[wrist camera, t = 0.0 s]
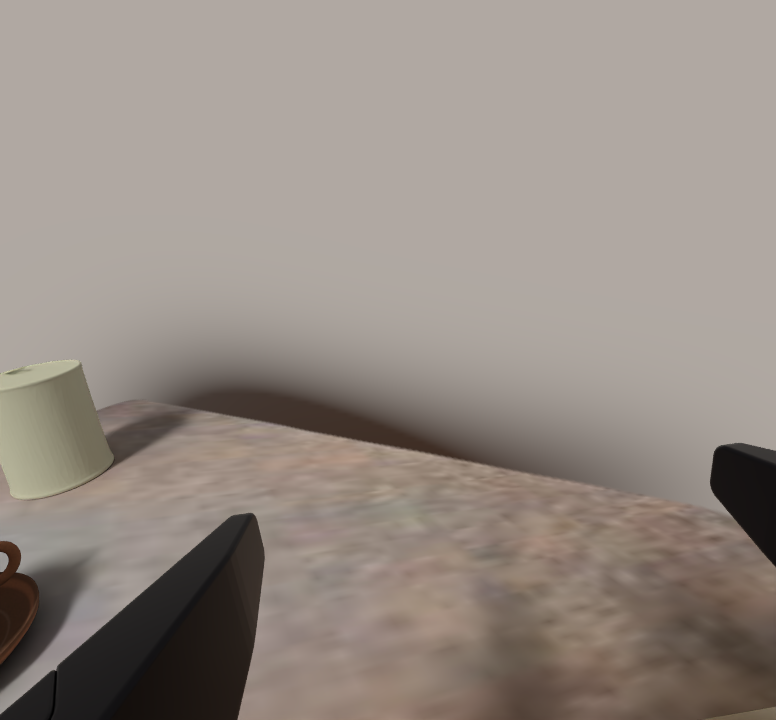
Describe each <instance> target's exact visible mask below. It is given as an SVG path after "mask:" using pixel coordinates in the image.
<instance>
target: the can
mask: <svg viewBox="0 0 776 720" xmlns="http://www.w3.org/2000/svg"><path fill="white" fill-rule="evenodd" d="M113 461H114V455H113V453H112V452H111V450H110V448H109V446H108V443H107V441H106V438H105V435H104V432H103V429H102V427H101V424H100V421H99V418H98V415H97V412H96V409H95V406H94V403H93V400H92V397H91V395H90V391H89V388H88V385H87V382H86V379H85V376H84V373H83V370H82V364H81V362H80V361H77V360H61V361H52V362H46V363H40V364H36V365H31V366H26V367H21V368H18V369H14V370H10V371H6V372H3V373H0V464H1V466H2V469H3V471H4V474H5V476H6V479H7V481H8V484H9V487H10V493H11V495H12V496H13V497H14V498H16V499H21V500H33V499H40V498H45V497H49V496H53V495H57V494H60V493H63V492H66V491H68V490H71V489H74V488H76V487H78V486H81V485H83V484H85V483H87V482H89V481H90V480H92V479H94V478H96V477H97V476H99V475H100V474H102V473H103V472H104V471H106V470H107V469H108V468H109V467H110V466H111V464H112V463H113Z"/></svg>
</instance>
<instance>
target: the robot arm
mask: <svg viewBox="0 0 776 720" xmlns="http://www.w3.org/2000/svg"><path fill="white" fill-rule="evenodd" d="M710 486H711V489H712V491H713V493H714V495H715V496H716V498H717V499H718V500H719V501H720V502H721V503H722V504H723V506H724V507H725V508H726V509H727V511H728V512H729V513H730V514H731V515H732V517H733V518H734V519H735V520H736V521H737V523H738V524H739V525H740V526H741V527H742V528H743V530H744V531H745V532H746V533H747V534H748V536H749V537H750V538H751V539H752V540H753V541H754V543H755V544H756V545H757V546H758V547H759V549H760V550H761V551H762V552H763V553H764V554H765V556H766V557H767V558H768V559H769V560H770V561H771V562H772V564H773V565H774V566H775V567H776V451H774V450H770V449H765V448H761V447H757V446H752V445H748V444H744V443H734V444H727V445H721V446H719V447H717V448H716V450H715V451H714V455H713V463H712V470H711V478H710ZM264 559H265V556H264V547H263V543H262V539H261V535H260V530H259V526H258V522H257V518H256V516H255V515H254V514H253V513H246V514H239V515H233V516H231V517H229V518H228V519H227V520H226V521H225V522H223V523H222V524H221V525H220V526H219V527H218V528H217V529H215V530H214V531H213V532H212V533H211V534H210V535H208V536H207V537H206V538H205V539H204V540H203V541H201V542H200V543H199V544H198V545H197V546H196V547H195V548H193V549H192V550H191V551H190V552H189V553H188V554H186V555H185V556H184V557H183V558H182V559H181V560H179V561H178V562H177V563H176V564H175V565H174V566H173V567H171V568H170V569H169V570H168V571H167V572H166V573H164V574H163V575H162V576H161V577H160V578H159V579H157V580H156V581H155V582H154V583H153V584H152V585H150V586H149V587H148V588H147V589H146V590H145V591H144V592H142V593H141V594H140V595H139V596H138V597H137V598H135V599H134V600H133V601H132V602H131V603H130V604H128V605H127V606H126V607H125V608H124V609H123V610H122V611H120V612H119V613H118V614H117V615H116V616H115V617H113V618H112V619H111V620H110V621H109V622H108V623H106V624H105V625H104V626H103V627H102V628H101V629H99V630H98V631H97V632H96V633H95V634H94V635H92V636H91V637H90V638H89V639H88V640H87V641H86V642H84V643H83V644H82V645H81V646H80V647H79V648H77V649H76V650H75V651H74V652H73V653H72V654H70V655H69V656H68V657H67V658H66V659H65V660H63V661H62V662H61V663H60V664H59V665H58V666H57V671H55V670H52V671H51V672H49V673H48V674H47V675H46V676H45V677H44V678H43V679H41V680H40V681H39V682H38V683H37V684H36V685H34V686H33V687H32V688H31V689H30V690H29V691H27V692H26V693H25V694H24V695H23V696H22V697H20V698H19V699H18V700H17V701H16V702H14V703H13V704H12V705H11V706H10V707H8V708H7V709H6V710H5V711H4V712H3V713H1V714H0V720H237V719H238V715H239V710H240V706H241V702H242V697H243V693H244V689H245V684H246V680H247V675H248V671H249V667H250V662H251V658H252V653H253V648H254V642H255V635H256V628H257V619H258V611H259V603H260V594H261V586H262V578H263V569H264Z"/></svg>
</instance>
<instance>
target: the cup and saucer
mask: <svg viewBox="0 0 776 720" xmlns="http://www.w3.org/2000/svg"><path fill="white" fill-rule="evenodd" d="M0 552H3V553H6V554H7V556H8V558H9V562H8V565H7V567H6V569H5V570H4V572H0V665H1V664H2V663H3V662H4V660H5V659H6V658H7V657H8V656H9V655H10V654H11V652H12V651H13V650H14V649H15V647H16V646H17V645H18V643H19V642H20V640H21V639H22V638H23V636H24V634H25V633H26V632H27V630H28V628H29V627H30V625H31V623H32V621H33V619H34V617H35V615H36V612H37V609H38V604H39V591H38V587H37V584H36V583H35V581H34V580H33V579H32V578H30V577H29V576H27V575H24V574H21V573H15V572H16V571H17V569H18V567H19V565H20V561H21V553H20V550H19V548H18V547H17V546H16V545H15V544H13V543H11V542H7V541H0Z"/></svg>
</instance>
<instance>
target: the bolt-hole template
mask: <svg viewBox="0 0 776 720" xmlns="http://www.w3.org/2000/svg"><path fill="white" fill-rule="evenodd" d="M702 720H776V707H771V708H765V709H760V710H754V711H748V712H742V713H736V714H731V715H725V716H719V717H713V718H707V719H702Z"/></svg>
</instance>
